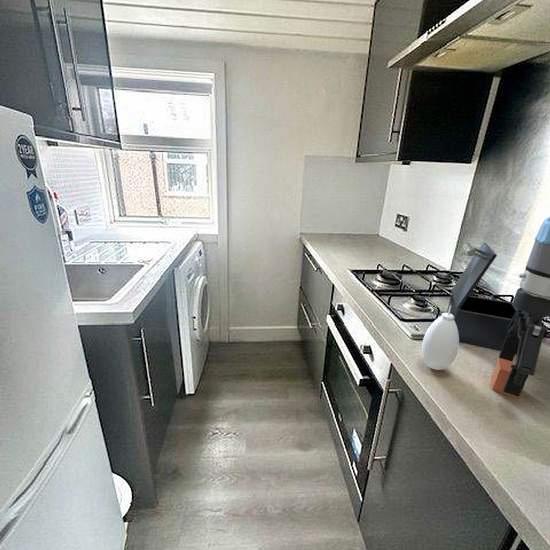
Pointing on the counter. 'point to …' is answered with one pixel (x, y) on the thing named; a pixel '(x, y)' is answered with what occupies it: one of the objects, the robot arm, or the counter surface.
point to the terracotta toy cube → (501, 375)
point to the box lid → (472, 272)
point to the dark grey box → (483, 321)
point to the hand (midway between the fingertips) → (507, 375)
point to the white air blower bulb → (441, 342)
